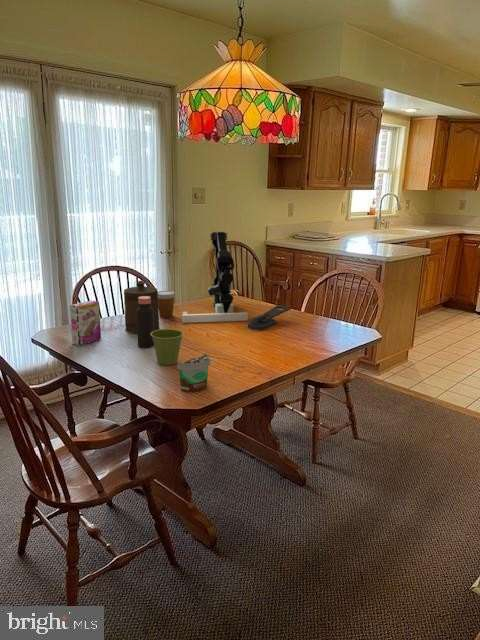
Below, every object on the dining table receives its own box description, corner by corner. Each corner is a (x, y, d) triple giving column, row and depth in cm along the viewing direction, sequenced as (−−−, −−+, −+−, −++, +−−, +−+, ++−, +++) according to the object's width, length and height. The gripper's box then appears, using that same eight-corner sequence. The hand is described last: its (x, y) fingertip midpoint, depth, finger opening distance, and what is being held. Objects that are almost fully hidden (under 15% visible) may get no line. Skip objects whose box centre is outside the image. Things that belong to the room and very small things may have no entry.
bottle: (134, 347, 193) (132, 298, 188) (143, 342, 199) (141, 294, 194) (149, 349, 191) (147, 300, 185) (158, 344, 197) (156, 296, 191)
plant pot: (186, 366, 174) (186, 336, 171) (153, 369, 170) (152, 339, 167) (181, 355, 185) (180, 327, 181) (149, 358, 181) (148, 329, 178)
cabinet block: (215, 313, 245) (215, 302, 243) (230, 312, 247) (230, 301, 245) (217, 316, 240) (217, 304, 238) (233, 315, 242) (233, 304, 240)
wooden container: (139, 322, 226) (137, 276, 220) (165, 327, 220) (164, 279, 214) (118, 331, 213) (115, 282, 207) (146, 336, 207) (144, 285, 201)
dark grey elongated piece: (292, 307, 232) (260, 317, 214) (291, 320, 234) (259, 331, 216) (277, 304, 238) (244, 313, 219) (277, 317, 240) (244, 327, 221)
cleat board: (181, 317, 236) (181, 310, 235) (244, 315, 241) (244, 308, 240) (182, 322, 227) (182, 315, 226) (247, 320, 232) (247, 313, 231)
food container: (190, 397, 149) (190, 367, 146) (177, 391, 153) (176, 362, 150) (218, 385, 158) (218, 357, 155) (205, 380, 162) (205, 352, 159)
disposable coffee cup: (168, 312, 244) (168, 289, 240) (179, 316, 237) (179, 293, 234) (152, 316, 238) (151, 292, 234) (163, 320, 231) (162, 295, 227)
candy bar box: (79, 346, 193) (76, 306, 188) (72, 344, 196) (68, 304, 191) (102, 339, 202) (99, 301, 197) (94, 337, 204) (91, 299, 200)
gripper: (206, 276, 246) (206, 306, 250) (210, 284, 228) (210, 316, 232) (227, 276, 248) (227, 305, 252) (233, 283, 230) (233, 315, 234)
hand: (224, 310), depth 243 cm, fingers open, 9 cm apart
